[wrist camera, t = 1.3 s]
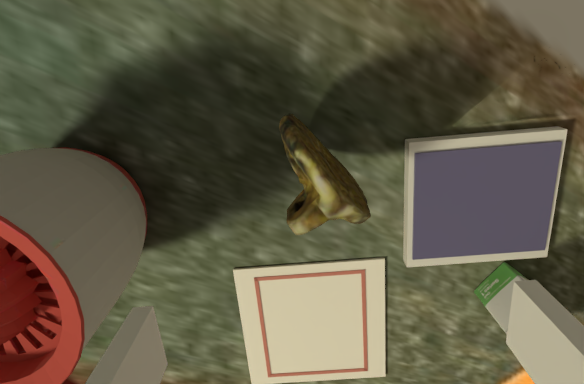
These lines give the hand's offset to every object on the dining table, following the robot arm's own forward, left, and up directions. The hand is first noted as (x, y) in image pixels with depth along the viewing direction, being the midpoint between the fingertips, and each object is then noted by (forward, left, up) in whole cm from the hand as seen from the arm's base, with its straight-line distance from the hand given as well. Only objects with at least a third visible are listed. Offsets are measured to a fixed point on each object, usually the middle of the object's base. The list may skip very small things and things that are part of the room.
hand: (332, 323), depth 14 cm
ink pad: (+6, +16, -24) cm, 30 cm away
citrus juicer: (+3, -23, -24) cm, 34 cm away
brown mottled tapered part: (0, 0, -24) cm, 24 cm away
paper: (+20, -1, -24) cm, 31 cm away
